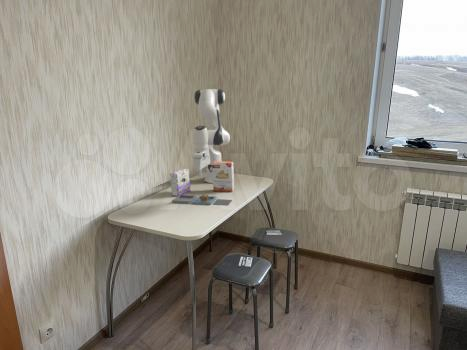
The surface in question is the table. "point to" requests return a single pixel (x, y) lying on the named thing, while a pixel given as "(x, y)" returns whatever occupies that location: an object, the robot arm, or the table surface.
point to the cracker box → (223, 176)
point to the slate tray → (198, 201)
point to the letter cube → (204, 198)
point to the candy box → (180, 182)
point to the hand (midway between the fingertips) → (203, 174)
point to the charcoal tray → (184, 199)
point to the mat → (222, 202)
